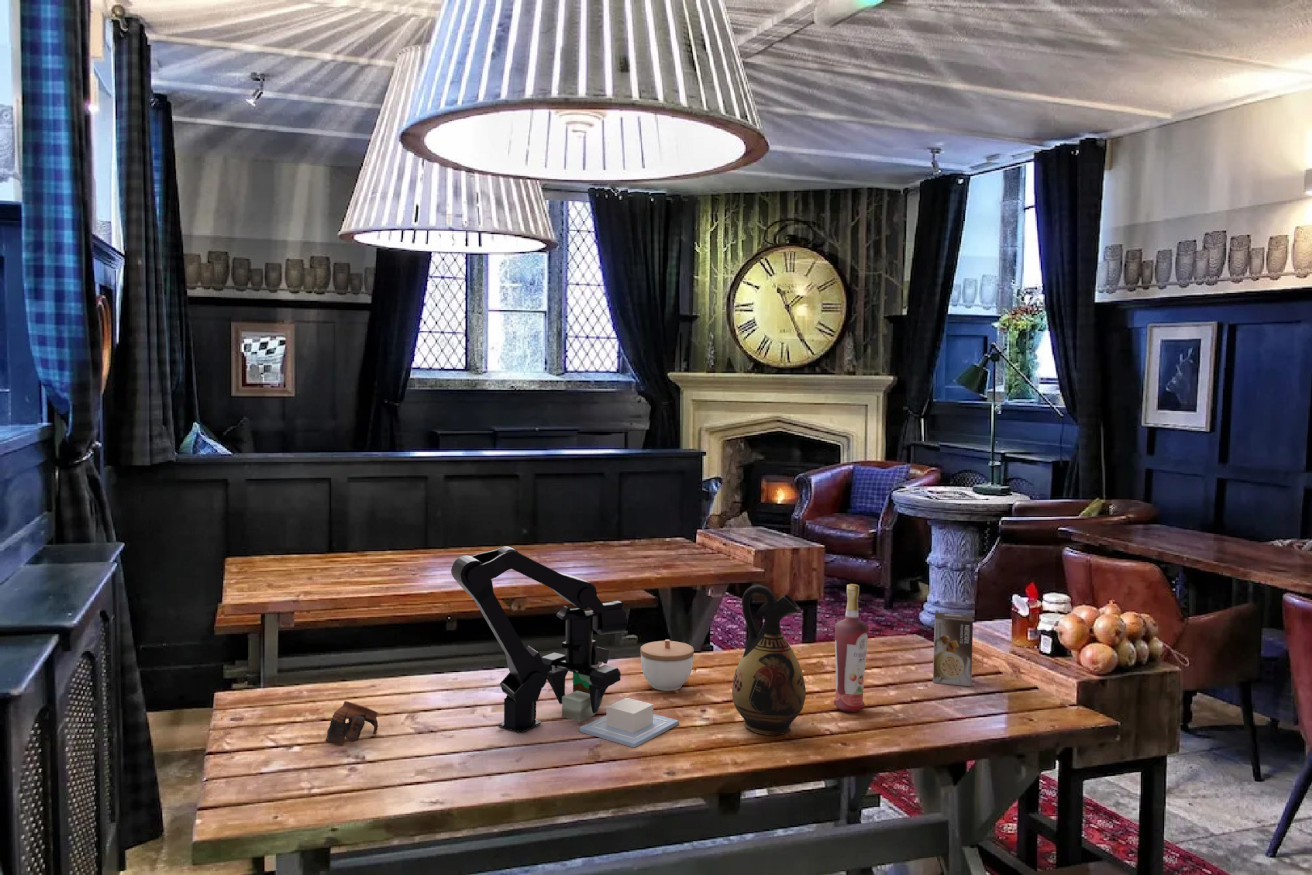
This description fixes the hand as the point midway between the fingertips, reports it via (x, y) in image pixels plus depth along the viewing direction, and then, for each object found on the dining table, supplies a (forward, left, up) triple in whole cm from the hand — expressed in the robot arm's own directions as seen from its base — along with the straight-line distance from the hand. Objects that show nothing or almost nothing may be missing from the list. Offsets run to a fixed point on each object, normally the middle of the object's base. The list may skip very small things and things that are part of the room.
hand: (578, 708), depth 214 cm
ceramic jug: (+19, -35, -2) cm, 40 cm away
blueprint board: (+1, -13, -2) cm, 13 cm away
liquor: (+40, -45, -2) cm, 60 cm away
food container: (+11, +6, -2) cm, 13 cm away
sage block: (0, 0, -2) cm, 2 cm away
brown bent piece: (-37, +28, -2) cm, 47 cm away
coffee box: (+74, -57, -2) cm, 94 cm away
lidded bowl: (+28, -4, -2) cm, 28 cm away
